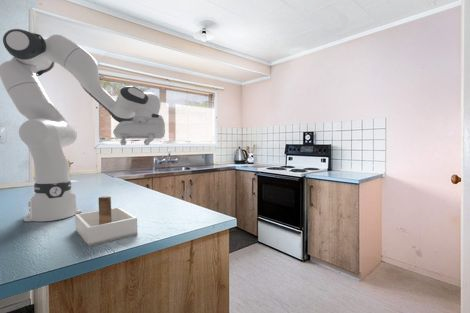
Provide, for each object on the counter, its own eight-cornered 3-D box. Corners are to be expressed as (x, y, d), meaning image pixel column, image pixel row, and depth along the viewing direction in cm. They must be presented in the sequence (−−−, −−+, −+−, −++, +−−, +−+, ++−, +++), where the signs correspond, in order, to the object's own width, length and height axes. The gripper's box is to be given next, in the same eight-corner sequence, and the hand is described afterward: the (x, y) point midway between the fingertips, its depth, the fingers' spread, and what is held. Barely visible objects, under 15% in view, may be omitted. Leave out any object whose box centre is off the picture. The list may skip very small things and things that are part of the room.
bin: (75, 230, 84) (75, 214, 83) (119, 221, 93) (118, 207, 93) (88, 246, 70) (88, 227, 70) (137, 234, 80) (137, 217, 80)
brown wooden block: (103, 228, 84) (102, 196, 83) (114, 228, 84) (113, 196, 83) (96, 232, 80) (95, 198, 79) (108, 232, 80) (107, 198, 79)
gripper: (117, 115, 104) (105, 138, 94) (165, 115, 103) (157, 138, 94) (123, 126, 108) (111, 149, 99) (168, 126, 108) (161, 149, 98)
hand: (134, 144), depth 96 cm, fingers open, 8 cm apart
